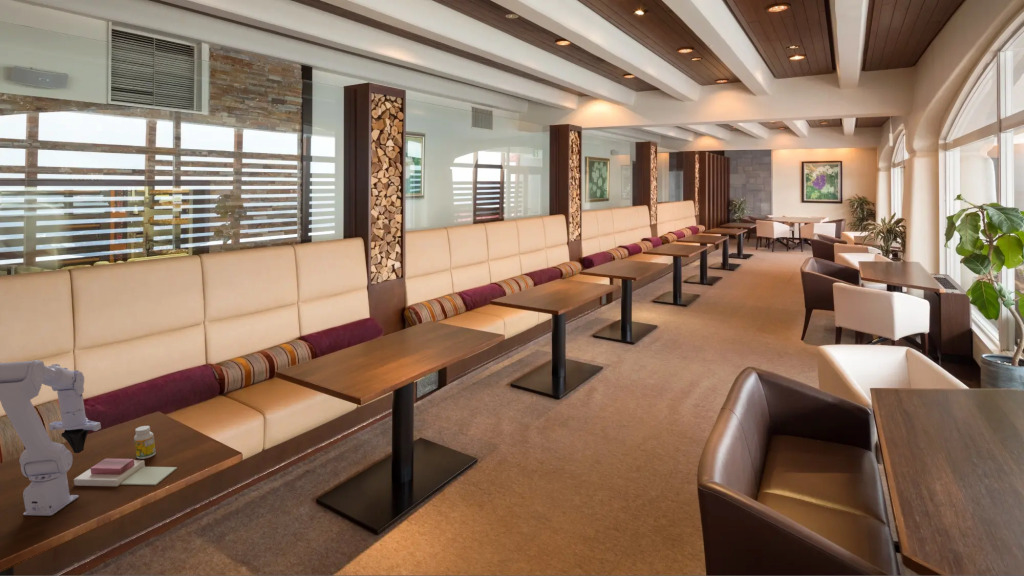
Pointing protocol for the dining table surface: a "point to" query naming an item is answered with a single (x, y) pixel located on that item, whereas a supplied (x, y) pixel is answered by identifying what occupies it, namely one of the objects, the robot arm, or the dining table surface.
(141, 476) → the mat
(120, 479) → the white flat block
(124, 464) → the tile
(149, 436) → the supplement bottle
